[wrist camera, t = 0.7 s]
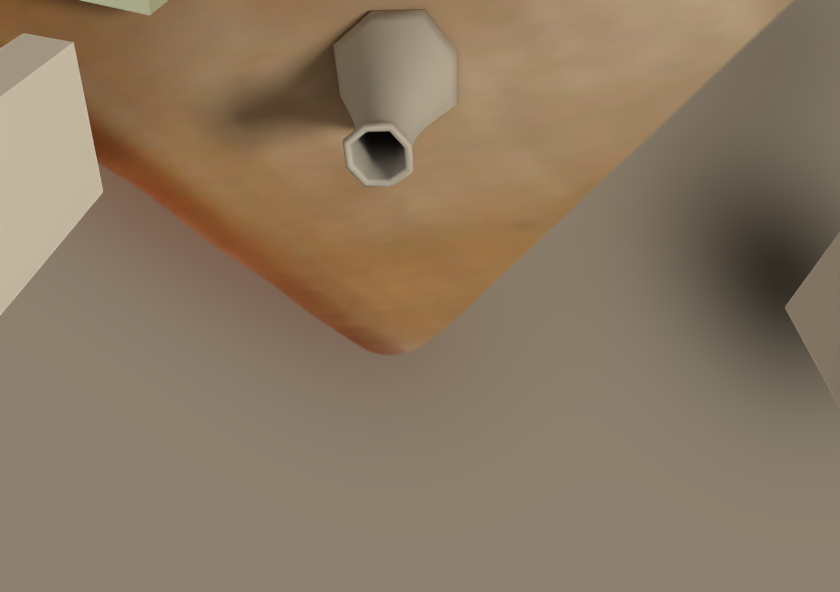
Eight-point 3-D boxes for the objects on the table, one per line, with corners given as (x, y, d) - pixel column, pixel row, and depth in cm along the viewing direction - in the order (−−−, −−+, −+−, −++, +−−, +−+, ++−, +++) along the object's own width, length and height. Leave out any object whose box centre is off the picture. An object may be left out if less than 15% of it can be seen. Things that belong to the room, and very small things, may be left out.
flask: (435, -16, 33) (425, 53, 26) (478, 109, 37) (479, 200, 30) (312, 32, 35) (267, 110, 28) (365, 146, 39) (340, 241, 32)
